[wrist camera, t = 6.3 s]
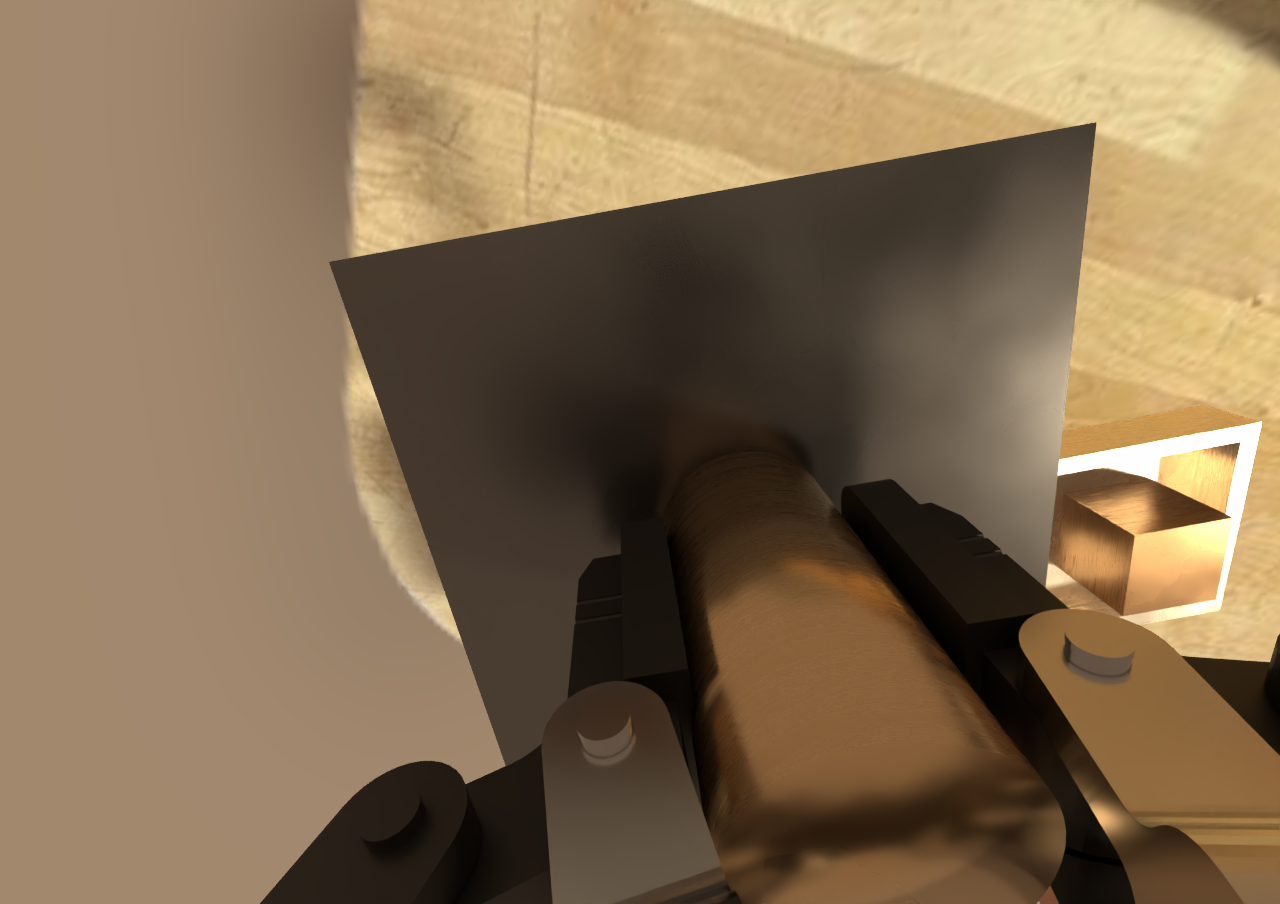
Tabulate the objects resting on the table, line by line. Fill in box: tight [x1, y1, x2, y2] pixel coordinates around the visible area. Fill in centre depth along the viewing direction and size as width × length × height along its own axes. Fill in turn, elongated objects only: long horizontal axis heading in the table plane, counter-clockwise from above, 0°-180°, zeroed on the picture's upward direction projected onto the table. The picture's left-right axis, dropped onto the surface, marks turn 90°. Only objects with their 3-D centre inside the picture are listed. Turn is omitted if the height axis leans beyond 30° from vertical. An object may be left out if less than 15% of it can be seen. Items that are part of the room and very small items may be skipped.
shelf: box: [1045, 405, 1262, 625], centre depth 31 cm, size 11×31×11 cm, turn 100°
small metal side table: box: [329, 123, 1096, 904], centre depth 13 cm, size 11×11×17 cm
